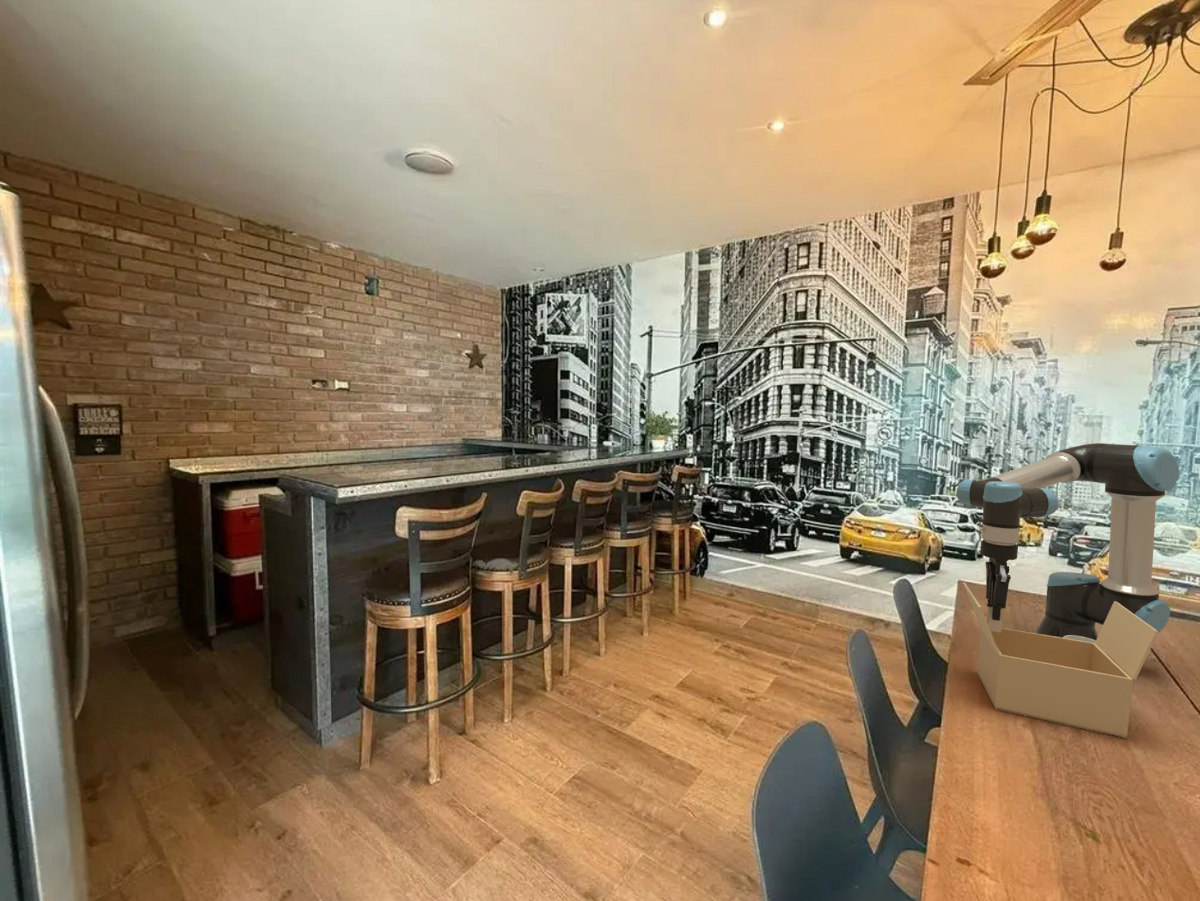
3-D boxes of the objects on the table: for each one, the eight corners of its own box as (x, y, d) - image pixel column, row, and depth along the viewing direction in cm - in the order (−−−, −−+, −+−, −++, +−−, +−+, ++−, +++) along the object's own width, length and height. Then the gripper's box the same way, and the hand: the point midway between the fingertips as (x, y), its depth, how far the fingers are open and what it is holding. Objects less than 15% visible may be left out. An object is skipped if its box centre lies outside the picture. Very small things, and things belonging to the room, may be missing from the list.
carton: (1089, 694, 132) (1094, 643, 131) (1126, 738, 114) (1133, 679, 113) (977, 672, 143) (980, 624, 141) (995, 709, 125) (999, 655, 123)
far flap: (999, 654, 124) (997, 654, 124) (981, 623, 141) (979, 624, 141) (981, 606, 125) (978, 607, 125) (965, 582, 142) (963, 582, 142)
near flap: (1095, 642, 131) (1097, 643, 130) (1132, 678, 113) (1135, 679, 113) (1114, 600, 128) (1116, 601, 128) (1155, 631, 111) (1158, 632, 111)
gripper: (975, 534, 137) (970, 618, 139) (987, 546, 126) (982, 637, 128) (1010, 537, 134) (1004, 623, 136) (1025, 549, 122) (1019, 643, 124)
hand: (993, 630), depth 132 cm, fingers closed
